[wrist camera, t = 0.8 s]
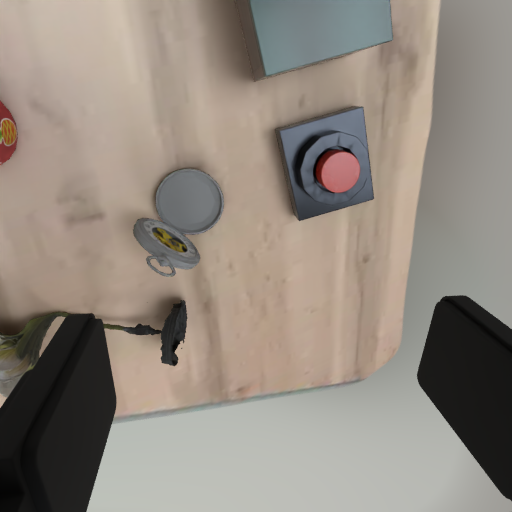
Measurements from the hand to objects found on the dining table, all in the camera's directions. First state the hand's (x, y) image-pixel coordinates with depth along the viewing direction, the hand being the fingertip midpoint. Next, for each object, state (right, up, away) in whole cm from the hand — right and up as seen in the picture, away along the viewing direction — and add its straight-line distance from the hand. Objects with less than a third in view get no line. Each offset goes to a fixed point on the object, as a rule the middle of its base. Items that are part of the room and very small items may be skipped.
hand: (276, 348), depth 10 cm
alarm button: (+7, +11, +23) cm, 26 cm away
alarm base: (+6, +12, +26) cm, 29 cm away
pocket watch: (-8, +7, +26) cm, 28 cm away
